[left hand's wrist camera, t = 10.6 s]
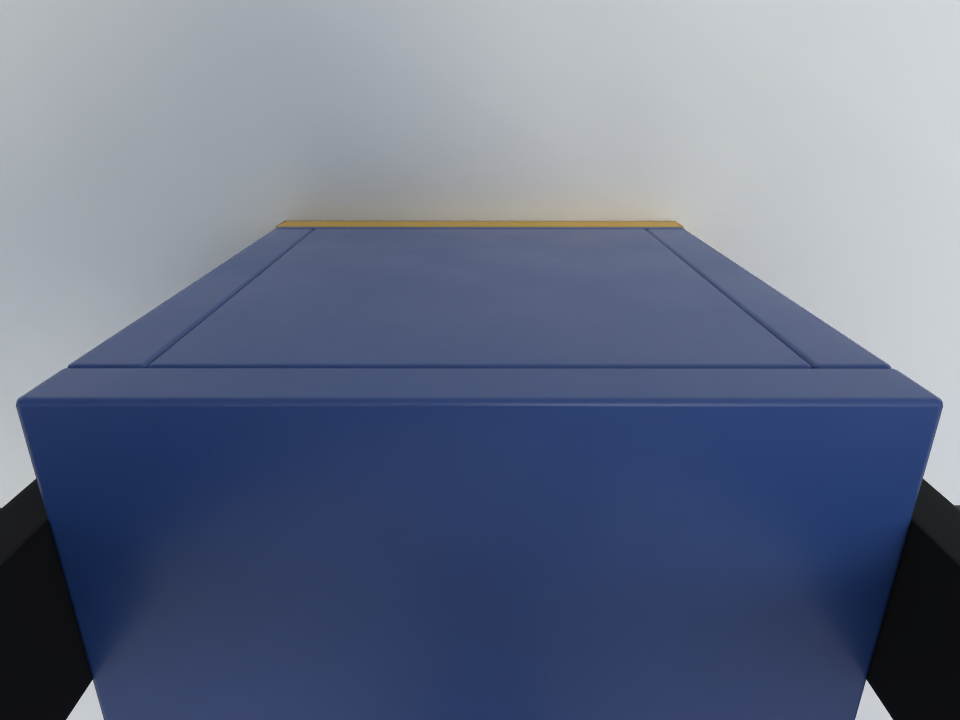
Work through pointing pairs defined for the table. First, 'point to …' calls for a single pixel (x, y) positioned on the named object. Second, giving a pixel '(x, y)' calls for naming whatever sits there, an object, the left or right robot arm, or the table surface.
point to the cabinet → (479, 483)
